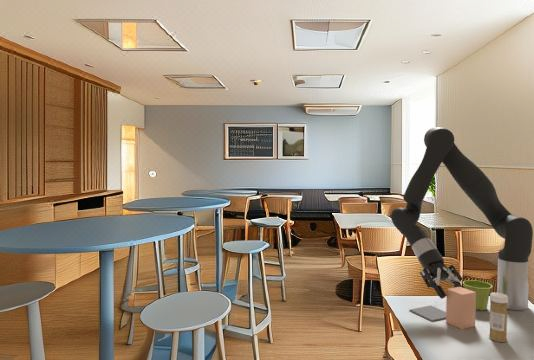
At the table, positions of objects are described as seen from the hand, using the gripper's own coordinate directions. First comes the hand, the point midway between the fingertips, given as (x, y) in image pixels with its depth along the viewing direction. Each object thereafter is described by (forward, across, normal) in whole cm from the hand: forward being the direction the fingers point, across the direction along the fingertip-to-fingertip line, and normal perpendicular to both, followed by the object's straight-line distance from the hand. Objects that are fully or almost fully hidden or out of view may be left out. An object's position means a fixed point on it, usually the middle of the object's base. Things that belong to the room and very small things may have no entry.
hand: (453, 295), depth 125 cm
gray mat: (+1, -2, +11) cm, 11 cm away
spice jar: (+16, +1, -4) cm, 17 cm away
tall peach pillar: (+8, 0, +4) cm, 9 cm away
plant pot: (+2, +18, +10) cm, 21 cm away
